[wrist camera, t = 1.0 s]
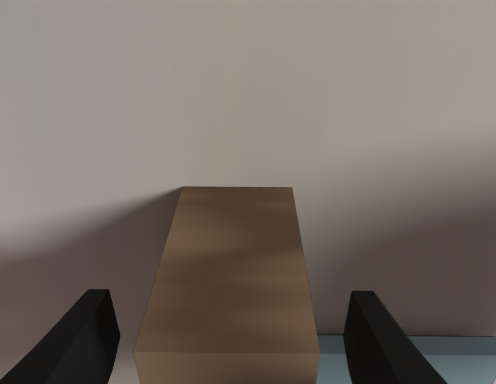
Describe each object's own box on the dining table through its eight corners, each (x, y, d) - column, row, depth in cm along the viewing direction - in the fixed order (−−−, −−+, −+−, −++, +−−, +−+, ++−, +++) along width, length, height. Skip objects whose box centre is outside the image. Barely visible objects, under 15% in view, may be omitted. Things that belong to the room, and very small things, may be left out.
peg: (292, 187, 14) (320, 353, 8) (286, 269, 16) (305, 450, 10) (182, 186, 14) (133, 351, 8) (190, 269, 16) (155, 449, 10)
